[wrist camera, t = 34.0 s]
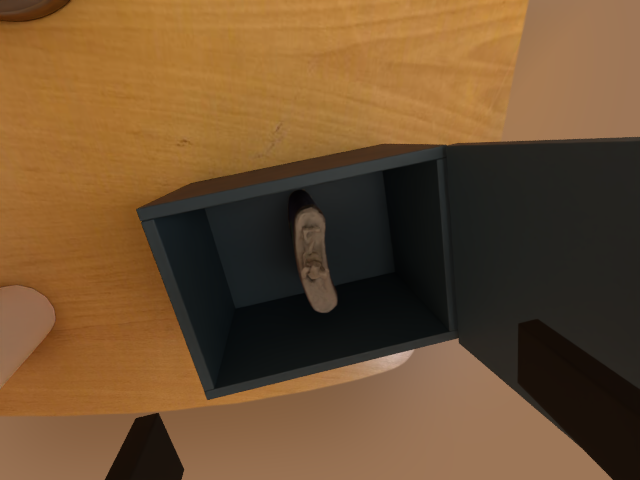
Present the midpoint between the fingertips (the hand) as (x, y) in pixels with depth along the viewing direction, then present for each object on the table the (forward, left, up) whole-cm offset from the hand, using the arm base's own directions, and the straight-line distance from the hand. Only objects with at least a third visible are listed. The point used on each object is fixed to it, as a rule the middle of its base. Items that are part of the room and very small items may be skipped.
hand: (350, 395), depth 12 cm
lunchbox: (0, 0, -24) cm, 24 cm away
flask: (0, 0, -23) cm, 23 cm away
